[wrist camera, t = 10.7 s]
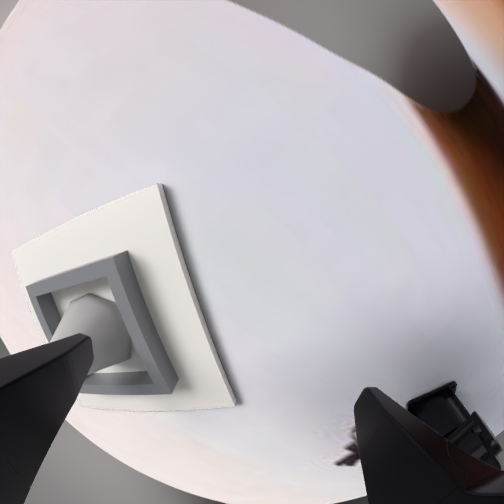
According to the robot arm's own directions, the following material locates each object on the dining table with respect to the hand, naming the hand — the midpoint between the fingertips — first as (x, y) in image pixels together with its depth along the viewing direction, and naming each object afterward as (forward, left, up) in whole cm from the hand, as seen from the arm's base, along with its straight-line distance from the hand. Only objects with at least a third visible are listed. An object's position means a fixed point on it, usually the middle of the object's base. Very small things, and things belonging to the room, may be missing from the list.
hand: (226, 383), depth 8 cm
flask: (+15, +2, -12) cm, 20 cm away
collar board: (+15, +2, -13) cm, 20 cm away
